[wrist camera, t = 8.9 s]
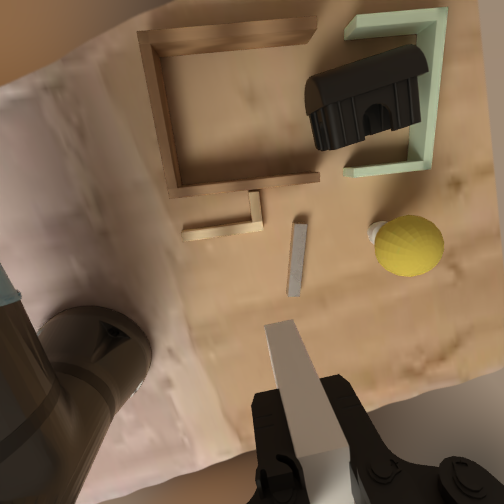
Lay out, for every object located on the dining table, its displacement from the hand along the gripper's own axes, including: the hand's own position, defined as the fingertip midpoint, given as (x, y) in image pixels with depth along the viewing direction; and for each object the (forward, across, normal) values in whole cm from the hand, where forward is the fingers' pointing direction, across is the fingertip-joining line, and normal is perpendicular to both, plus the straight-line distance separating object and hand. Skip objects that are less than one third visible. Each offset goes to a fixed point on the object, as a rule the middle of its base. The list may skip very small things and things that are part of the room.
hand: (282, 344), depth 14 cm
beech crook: (+22, -3, +3) cm, 23 cm away
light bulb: (+22, +17, -3) cm, 28 cm away
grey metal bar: (+22, +6, -4) cm, 24 cm away
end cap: (+22, +14, +12) cm, 29 cm away
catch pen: (+22, +18, +12) cm, 31 cm away
